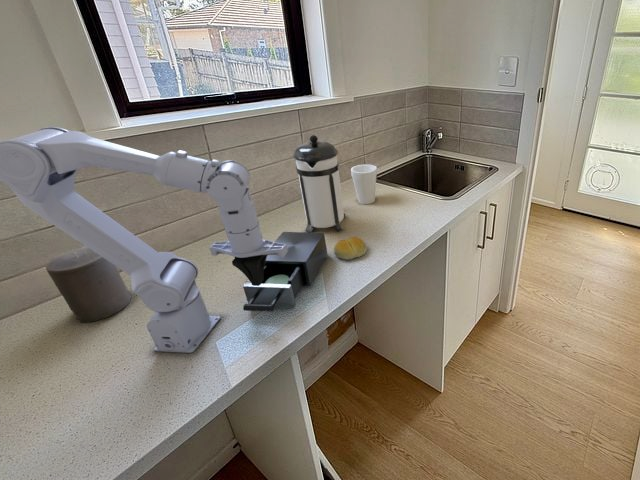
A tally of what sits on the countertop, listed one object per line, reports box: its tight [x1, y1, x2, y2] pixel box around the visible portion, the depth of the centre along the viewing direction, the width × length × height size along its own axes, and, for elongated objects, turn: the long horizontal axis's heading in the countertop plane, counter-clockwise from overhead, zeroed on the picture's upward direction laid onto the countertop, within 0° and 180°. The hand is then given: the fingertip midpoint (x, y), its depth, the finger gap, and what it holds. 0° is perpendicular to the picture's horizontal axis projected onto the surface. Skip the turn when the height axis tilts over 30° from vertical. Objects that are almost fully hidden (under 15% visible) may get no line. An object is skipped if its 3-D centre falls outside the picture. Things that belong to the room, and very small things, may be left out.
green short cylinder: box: [265, 275, 289, 284], centre depth 78 cm, size 5×5×3 cm
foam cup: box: [350, 163, 378, 205], centre depth 125 cm, size 10×9×13 cm
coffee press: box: [292, 134, 346, 233], centre depth 106 cm, size 17×16×30 cm
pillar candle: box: [45, 246, 132, 323], centre depth 73 cm, size 10×10×15 cm
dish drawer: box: [242, 263, 306, 313], centre depth 78 cm, size 17×10×6 cm, turn 177°
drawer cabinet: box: [265, 231, 329, 288], centre depth 88 cm, size 14×12×8 cm
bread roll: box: [333, 236, 368, 260], centre depth 96 cm, size 8×9×4 cm
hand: (258, 282), depth 70 cm, fingers closed
